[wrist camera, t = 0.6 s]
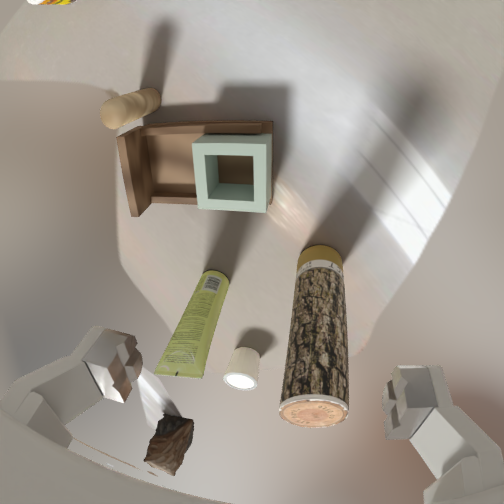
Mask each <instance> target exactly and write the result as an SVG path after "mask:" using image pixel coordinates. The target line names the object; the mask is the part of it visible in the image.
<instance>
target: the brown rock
mask: <svg viewBox="0 0 504 504" xmlns="http://www.w3.org/2000/svg"><path fill="white" fill-rule="evenodd" d="M163 416H164V417H163V419H161V420H159V421H158V425H157V429H156V433H155V435H154V436H153V438H152V439H150V442H149V443H150V444H149V446H148V449H147V455H146V457H145V459H144V462H147V463H148V464H149V465H150V466H151V467H153V468H158V469H160V470H162V471H165V472H166V473H168V474H170V475H172V476H175V472H176V470H177V469H178V468H179V467H180V465H181V464H182V461H183V459H184V454H185V453H186V451H187V450H188V448H189V447H190V445H191V443H192V439H193V431H194V422H193V420H192V419H187V418H182V417H177V416H171V415H168V414H163Z"/></svg>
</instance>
